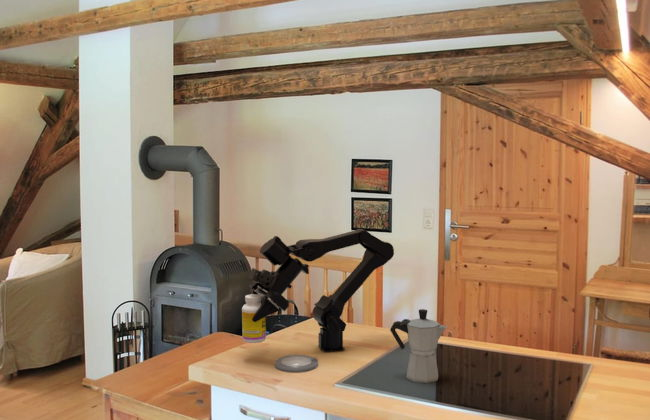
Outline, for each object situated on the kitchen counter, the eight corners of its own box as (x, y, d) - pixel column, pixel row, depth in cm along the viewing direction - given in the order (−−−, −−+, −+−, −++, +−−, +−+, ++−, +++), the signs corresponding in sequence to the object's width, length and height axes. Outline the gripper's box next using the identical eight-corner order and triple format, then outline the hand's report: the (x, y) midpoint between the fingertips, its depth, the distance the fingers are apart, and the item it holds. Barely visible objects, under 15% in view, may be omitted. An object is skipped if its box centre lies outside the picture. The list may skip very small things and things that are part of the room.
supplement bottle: (265, 343, 173) (264, 298, 172) (241, 344, 173) (240, 299, 172) (266, 336, 180) (265, 293, 178) (243, 337, 179) (242, 293, 178)
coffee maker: (448, 373, 165) (449, 307, 163) (445, 385, 156) (446, 315, 155) (392, 368, 169) (392, 304, 167) (387, 380, 160) (387, 311, 159)
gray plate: (310, 356, 180) (310, 352, 179) (323, 369, 168) (323, 365, 168) (270, 360, 176) (270, 356, 176) (280, 374, 165) (280, 370, 164)
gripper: (254, 253, 184) (219, 294, 180) (277, 263, 167) (239, 308, 164) (280, 276, 188) (246, 317, 184) (304, 288, 171) (267, 333, 168)
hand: (249, 318), depth 175 cm, fingers closed on supplement bottle, 7 cm apart
